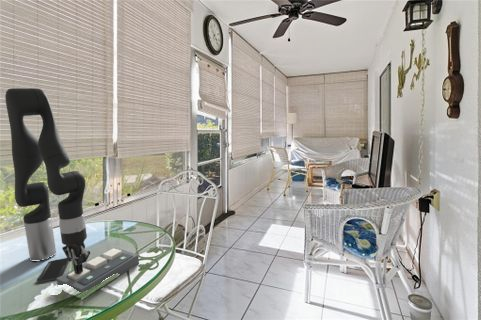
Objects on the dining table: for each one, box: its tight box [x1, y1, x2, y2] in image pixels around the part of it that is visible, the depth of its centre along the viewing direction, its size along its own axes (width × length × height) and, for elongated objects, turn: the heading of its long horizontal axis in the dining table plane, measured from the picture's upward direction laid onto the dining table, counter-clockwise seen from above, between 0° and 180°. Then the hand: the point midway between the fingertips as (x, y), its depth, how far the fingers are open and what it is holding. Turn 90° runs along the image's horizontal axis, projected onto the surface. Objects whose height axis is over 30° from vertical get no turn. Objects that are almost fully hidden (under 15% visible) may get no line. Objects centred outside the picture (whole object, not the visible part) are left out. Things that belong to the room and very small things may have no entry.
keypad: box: [56, 247, 140, 292], centre depth 99 cm, size 14×24×4 cm, turn 154°
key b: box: [85, 255, 107, 270], centre depth 100 cm, size 5×5×2 cm
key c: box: [102, 247, 122, 261], centre depth 106 cm, size 5×5×2 cm
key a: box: [68, 268, 90, 281], centre depth 93 cm, size 5×5×2 cm
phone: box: [36, 257, 71, 284], centre depth 103 cm, size 8×1×15 cm
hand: (78, 272), depth 93 cm, fingers closed
